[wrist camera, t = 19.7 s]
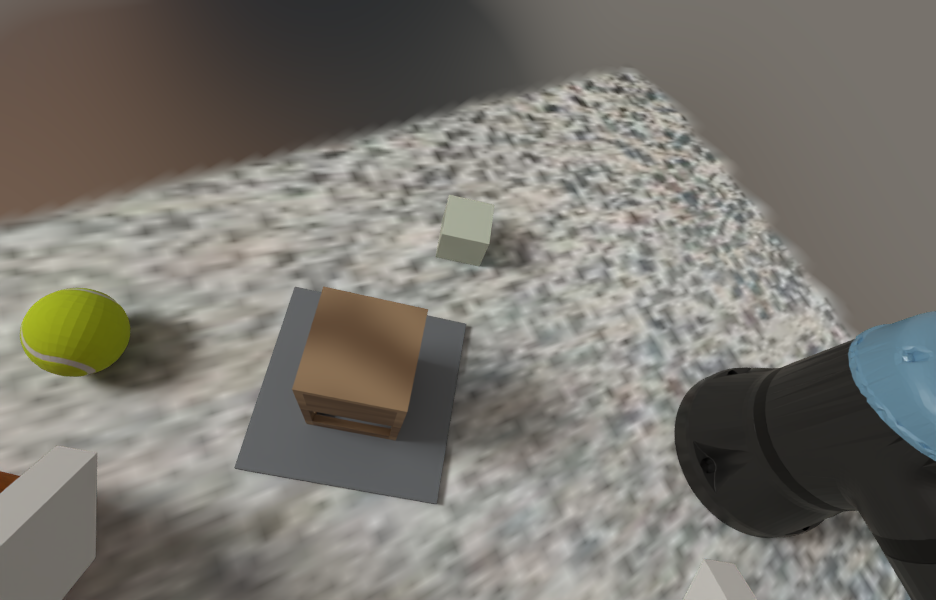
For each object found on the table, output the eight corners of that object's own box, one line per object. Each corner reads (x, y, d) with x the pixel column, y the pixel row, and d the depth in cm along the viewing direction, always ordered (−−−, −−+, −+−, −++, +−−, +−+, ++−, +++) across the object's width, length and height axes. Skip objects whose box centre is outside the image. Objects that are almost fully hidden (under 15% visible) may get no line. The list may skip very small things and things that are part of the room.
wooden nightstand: (395, 440, 44) (407, 411, 34) (306, 423, 43) (291, 389, 33) (412, 357, 47) (428, 309, 37) (330, 340, 46) (323, 286, 36)
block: (479, 266, 53) (489, 244, 49) (435, 257, 52) (441, 233, 48) (484, 229, 55) (494, 204, 51) (442, 220, 54) (449, 194, 50)
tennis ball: (34, 380, 41) (-21, 353, 35) (69, 302, 44) (24, 265, 38) (125, 392, 42) (87, 367, 36) (155, 315, 45) (124, 280, 39)
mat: (435, 504, 43) (436, 503, 42) (235, 468, 41) (234, 467, 40) (465, 325, 50) (466, 323, 49) (295, 289, 48) (294, 286, 47)
